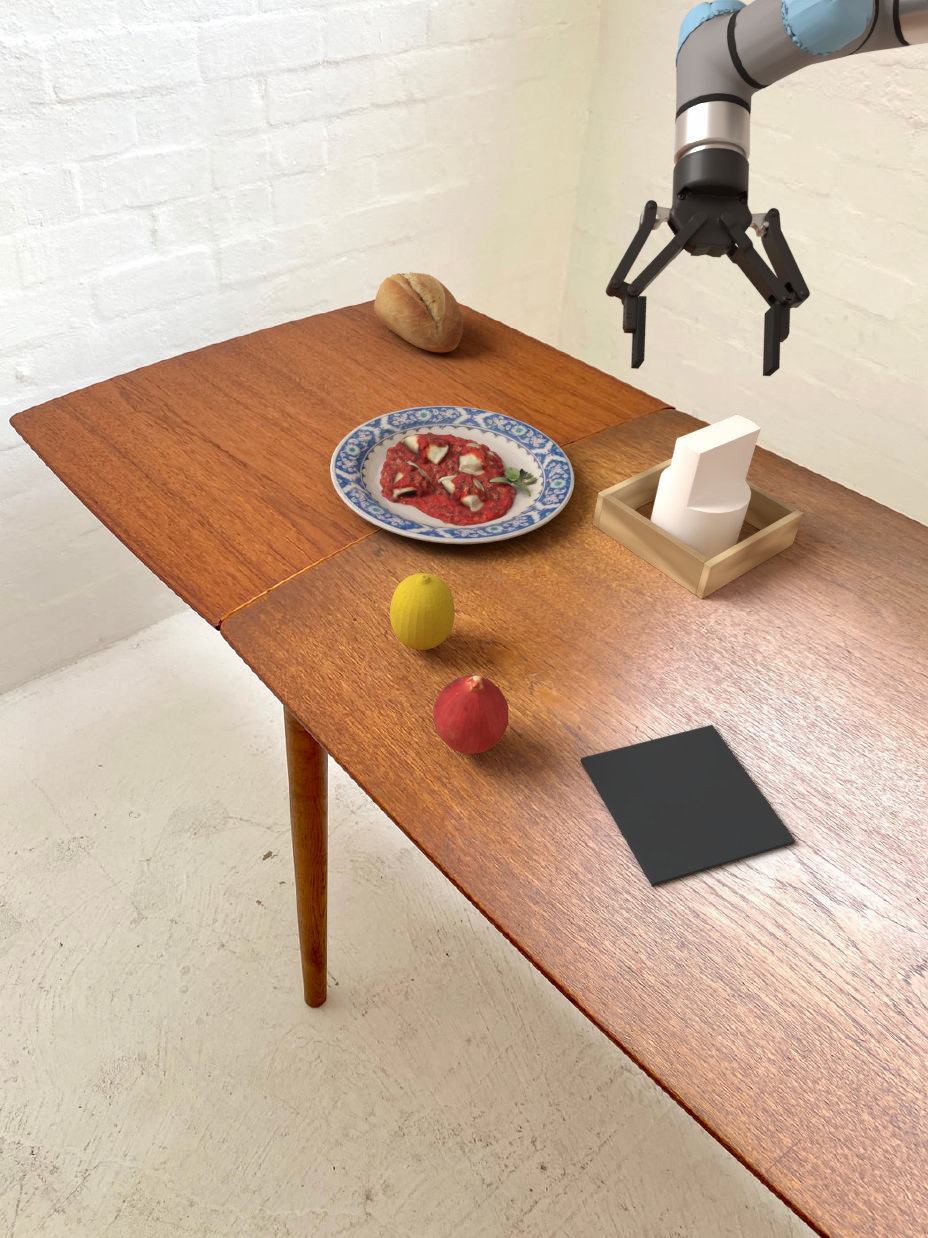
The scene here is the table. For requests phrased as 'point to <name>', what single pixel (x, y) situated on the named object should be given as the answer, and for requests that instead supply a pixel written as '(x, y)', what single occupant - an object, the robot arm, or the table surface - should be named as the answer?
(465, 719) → the onion
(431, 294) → the bread roll
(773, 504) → the square wooden frame
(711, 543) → the cylinder with rectangular tab
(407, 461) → the ceramic plate
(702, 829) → the slate mat
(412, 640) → the lemon
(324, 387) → the table surface
